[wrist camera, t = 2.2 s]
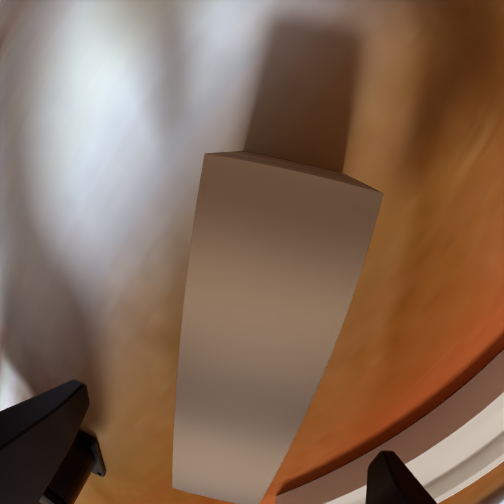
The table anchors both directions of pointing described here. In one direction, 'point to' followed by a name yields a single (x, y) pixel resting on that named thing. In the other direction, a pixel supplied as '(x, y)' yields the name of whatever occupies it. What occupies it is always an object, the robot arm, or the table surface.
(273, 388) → the walnut block
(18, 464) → the robot arm
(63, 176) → the table surface
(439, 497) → the slot tray
